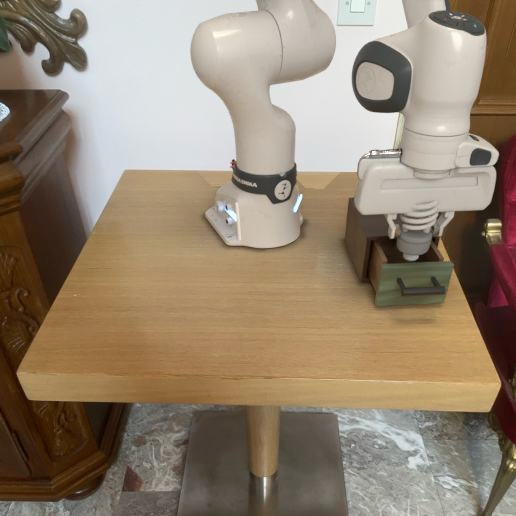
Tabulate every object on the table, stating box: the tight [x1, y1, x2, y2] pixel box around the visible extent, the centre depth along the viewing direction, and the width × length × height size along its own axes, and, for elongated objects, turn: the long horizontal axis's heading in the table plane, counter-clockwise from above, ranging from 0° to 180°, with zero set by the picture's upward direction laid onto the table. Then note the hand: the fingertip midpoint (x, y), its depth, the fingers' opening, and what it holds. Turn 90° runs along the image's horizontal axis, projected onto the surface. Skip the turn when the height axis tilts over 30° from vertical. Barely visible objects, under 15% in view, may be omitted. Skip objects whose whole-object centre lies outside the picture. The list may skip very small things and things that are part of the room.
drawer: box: [367, 240, 455, 307], centre depth 88 cm, size 19×11×7 cm, turn 4°
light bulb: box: [397, 200, 439, 262], centre depth 82 cm, size 6×6×12 cm
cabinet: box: [343, 196, 441, 283], centre depth 97 cm, size 16×13×9 cm
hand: (414, 236), depth 83 cm, fingers closed on light bulb, 5 cm apart
